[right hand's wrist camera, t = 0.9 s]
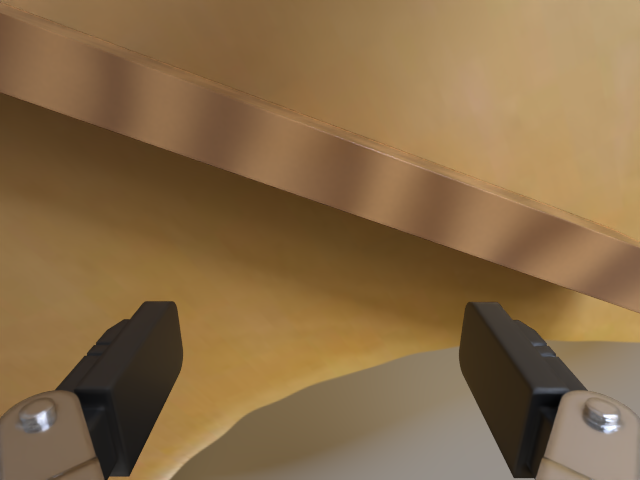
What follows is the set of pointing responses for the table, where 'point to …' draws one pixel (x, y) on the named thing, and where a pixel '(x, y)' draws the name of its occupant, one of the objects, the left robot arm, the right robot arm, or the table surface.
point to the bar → (309, 157)
